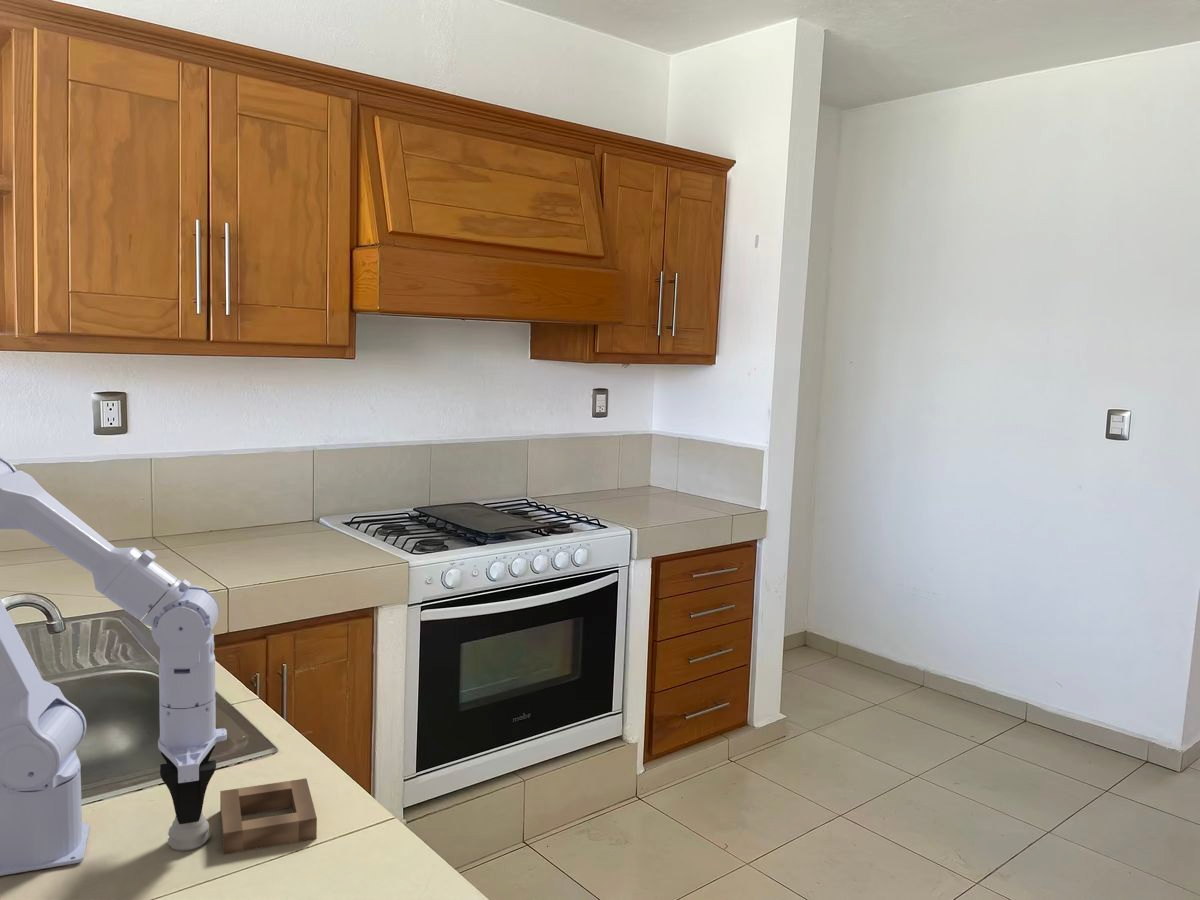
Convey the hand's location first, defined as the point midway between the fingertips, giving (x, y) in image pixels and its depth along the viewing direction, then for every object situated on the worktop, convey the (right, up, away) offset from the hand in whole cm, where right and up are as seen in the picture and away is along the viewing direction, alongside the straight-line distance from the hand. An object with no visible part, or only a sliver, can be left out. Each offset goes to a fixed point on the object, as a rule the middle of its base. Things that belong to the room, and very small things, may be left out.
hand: (188, 813), depth 105 cm
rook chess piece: (0, -4, 0) cm, 4 cm away
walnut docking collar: (+7, -3, +5) cm, 9 cm away
